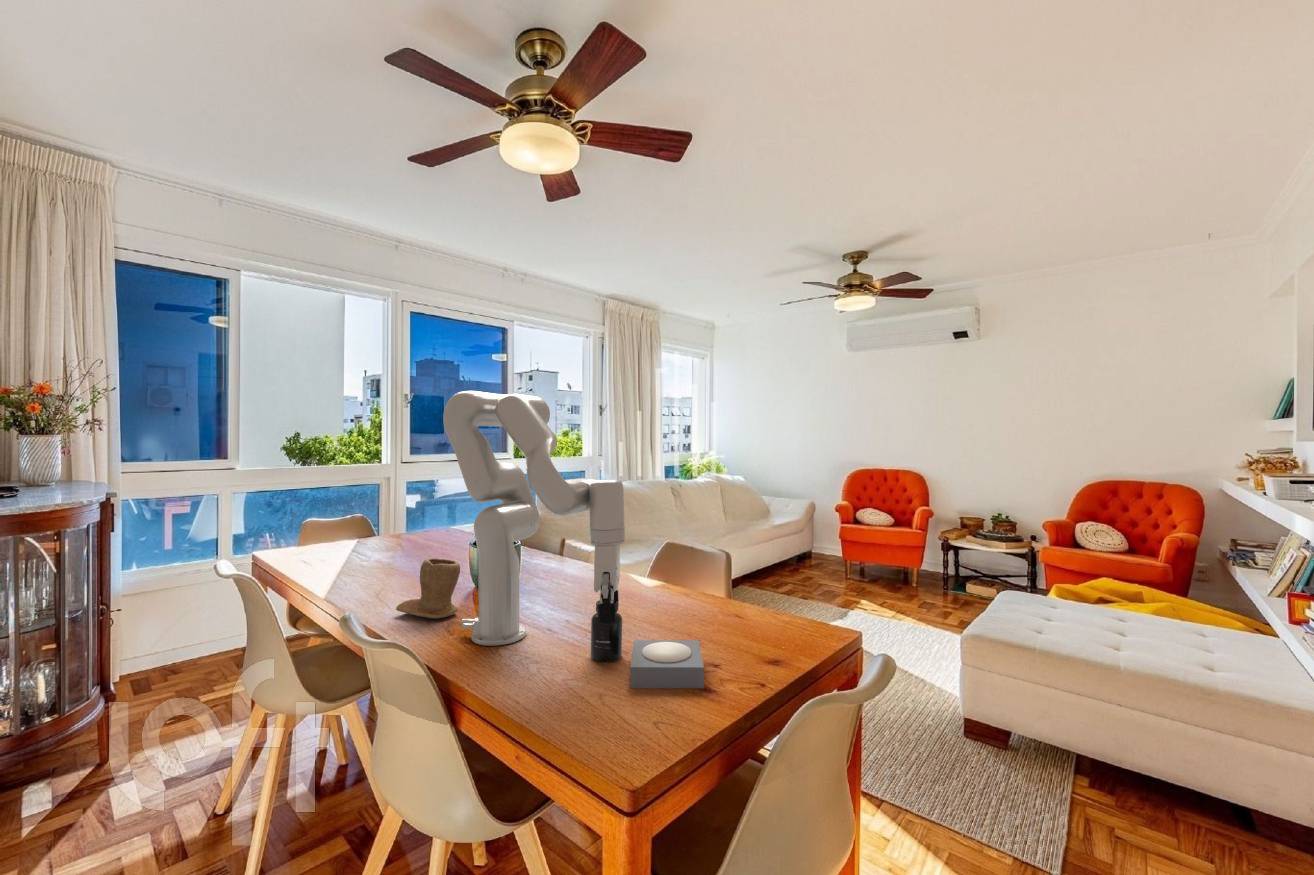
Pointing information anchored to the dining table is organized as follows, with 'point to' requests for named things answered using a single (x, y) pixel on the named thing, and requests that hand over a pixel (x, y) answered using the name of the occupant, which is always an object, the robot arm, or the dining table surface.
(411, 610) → the tan flared hollow piece
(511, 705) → the dining table surface
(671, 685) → the plinth
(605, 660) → the supplement bottle
